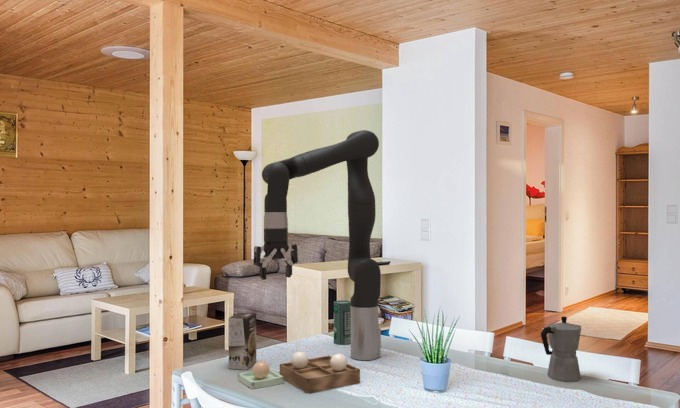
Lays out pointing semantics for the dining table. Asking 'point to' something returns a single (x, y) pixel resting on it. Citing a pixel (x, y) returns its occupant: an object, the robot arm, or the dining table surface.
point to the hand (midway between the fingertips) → (276, 278)
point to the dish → (255, 383)
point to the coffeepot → (562, 350)
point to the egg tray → (319, 375)
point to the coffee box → (242, 341)
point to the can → (342, 322)
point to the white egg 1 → (299, 360)
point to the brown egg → (260, 370)
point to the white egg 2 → (338, 362)
